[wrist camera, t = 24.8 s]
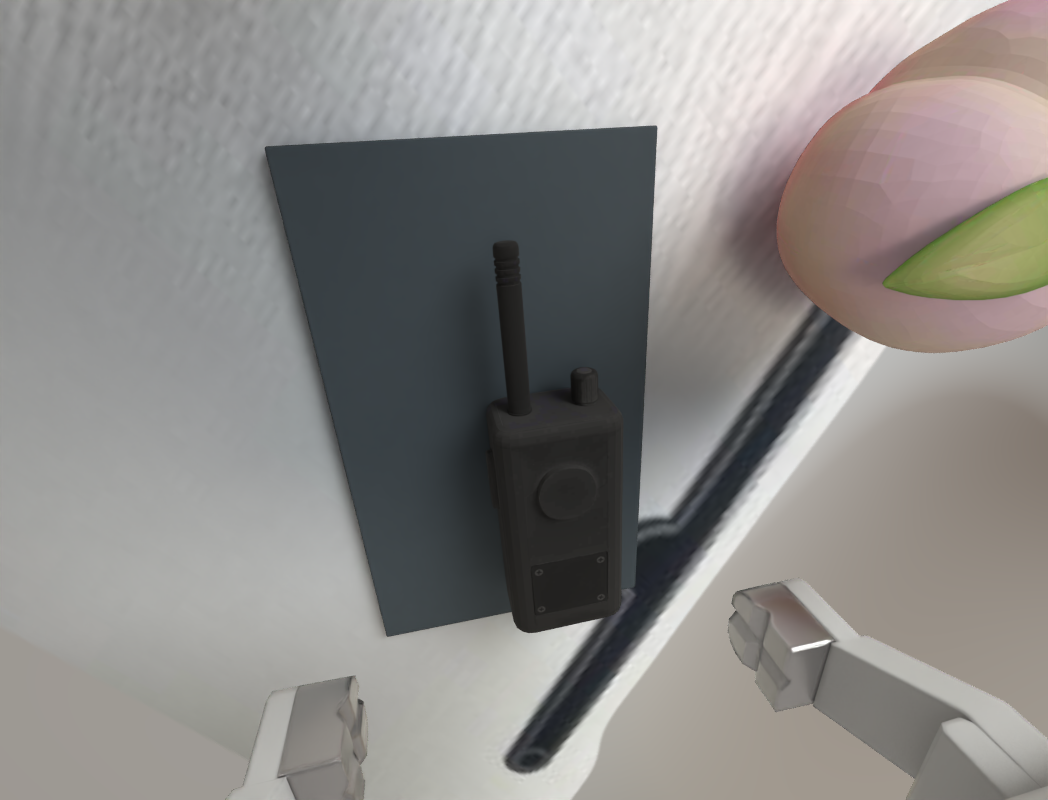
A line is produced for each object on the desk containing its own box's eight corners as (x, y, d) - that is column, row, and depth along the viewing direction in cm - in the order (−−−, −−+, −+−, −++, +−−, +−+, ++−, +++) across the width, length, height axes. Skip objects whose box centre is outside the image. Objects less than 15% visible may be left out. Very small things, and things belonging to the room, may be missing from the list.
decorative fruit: (763, 350, 21) (1024, 482, 12) (675, 179, 17) (954, 184, 8) (960, 206, 20) (1406, 232, 11) (911, -8, 16) (1515, -231, 7)
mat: (631, 580, 25) (635, 587, 24) (387, 628, 23) (386, 637, 23) (651, 126, 16) (658, 125, 16) (267, 147, 15) (263, 146, 14)
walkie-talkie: (600, 562, 23) (597, 225, 17) (628, 619, 20) (636, 236, 14) (499, 582, 23) (456, 240, 16) (512, 645, 20) (465, 255, 13)
